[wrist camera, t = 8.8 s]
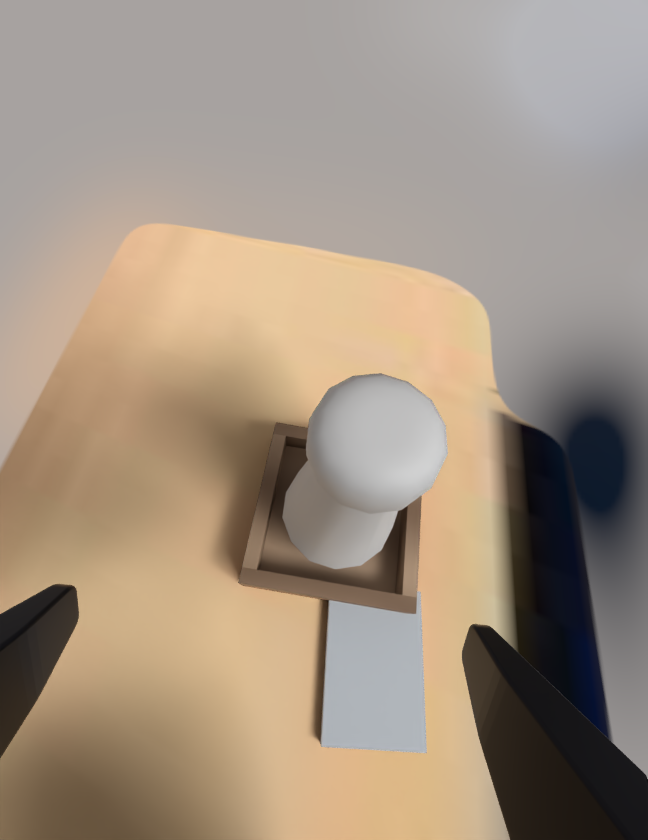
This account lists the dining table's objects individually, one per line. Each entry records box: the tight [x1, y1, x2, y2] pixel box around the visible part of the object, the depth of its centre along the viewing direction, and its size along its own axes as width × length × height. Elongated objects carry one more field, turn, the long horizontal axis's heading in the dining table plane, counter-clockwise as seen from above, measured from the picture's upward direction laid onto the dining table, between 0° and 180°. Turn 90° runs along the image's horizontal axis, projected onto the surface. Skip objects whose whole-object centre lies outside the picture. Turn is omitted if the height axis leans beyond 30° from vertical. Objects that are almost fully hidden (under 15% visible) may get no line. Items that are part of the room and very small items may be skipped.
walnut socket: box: [238, 423, 422, 614], centre depth 23 cm, size 9×9×2 cm
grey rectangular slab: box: [320, 592, 427, 753], centre depth 20 cm, size 7×5×1 cm
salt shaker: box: [282, 373, 448, 569], centre depth 17 cm, size 6×6×13 cm
